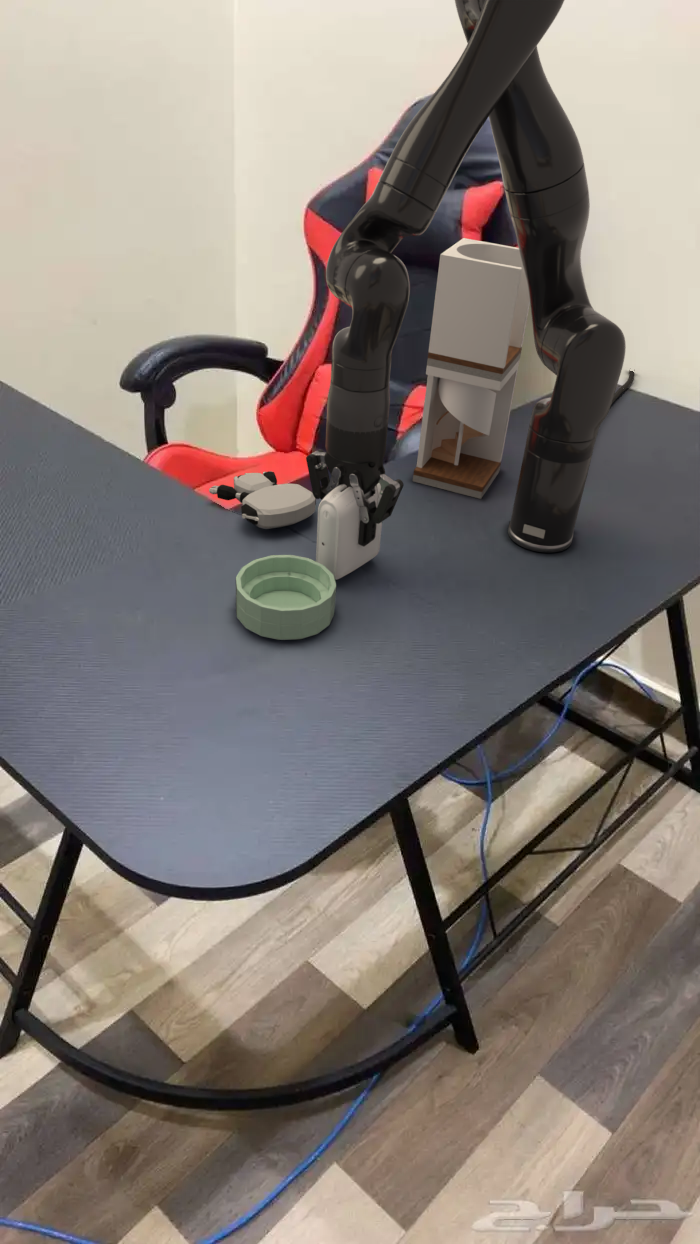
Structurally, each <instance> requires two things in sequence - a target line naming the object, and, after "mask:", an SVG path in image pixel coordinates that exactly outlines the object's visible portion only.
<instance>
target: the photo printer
mask: <svg viewBox="0 0 700 1244" xmlns="http://www.w3.org/2000/svg"><path fill="white" fill-rule="evenodd" d="M377 489H378V494H379V497H378V499H377V502H378V504H379V501H380V499H381V496H382V495H381V494H380V491H381V485H380V483H378V484H377ZM369 493H370V491H369V492H368V493H366V494H365V495H364V497H366V496H367V495H369ZM359 508H360V507H359V506H357V503H356V500H355V497H354V493H353V488H352V487H348V488H347V486H346V485H345V484H341V485H339V486H337V487H336V488H334V489H333V490H332V491H331V492H330V493H328V494H327V495H326V496H325V497H324V498H323V500H321V501H320V503H319V504H318V507H317V526H316V527H317V528H316V550H315V551H316V552H315V561H316V562H318V563H320V564H322V565H324V566H325V567H326V568H327V569H328V570H329V571H330V572H331V573H332V574H333V575H334V579H335V581H336V580H339V579H342V578H343V577H345V576H347V575H349V574H350V573H352V572H354V571H356V570H358V569H359V568H360V567H362V566H363V565H365V564H366V563H368V562H369V561H371V560H373V559H374V558H376V556H377V555H378V554H379V553H380V548H381V539H382V528H383V521H382V522H381V523H379V524H376V535H375V539H374V540H373V541H371V542H370V543H369V544H367V545H366V546H364V547H363V546H361V545H359V529H360V521H361V515H360V510H359Z"/></svg>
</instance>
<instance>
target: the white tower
mask: <svg viewBox="0 0 700 1244" xmlns="http://www.w3.org/2000/svg"><path fill="white" fill-rule="evenodd" d="M530 307H531V306H530V297H529V290H528V284H527V279H526V275H525V271H524V267H523V264H522V260H521V256H520V252H519V247H515V246H510V245H505V244H501V243H500V244H499V243H494V242H489V241H482V240H477V239H473V238H472V239H471V238H466V237H463V238H461V239H460V240H458V241H457V242H456V243H455V244H453V245H452V246H450V247H449V248H447V249H445V250H444V251H443V252H441V253H440V255H439V262H438V272H437V279H436V288H435V296H434V304H433V311H432V319H431V328H430V335H429V336H430V337H429V344H428V352H427V360H426V361H427V362H426V369H425V370H426V371H425V375H426V376H427V379H426V387H425V393H424V394H425V395H424V401H423V403H424V404H423V409H422V420H421V426H420V435H419V442H418V443H419V444H418V451H417V459H416V467H415V468H414V469H413V474H412V482H414V483H417V484H422V485H425V486H429V487H433V488H437V489H441V490H445V491H448V492H453V493H456V494H461V495H463V496H467V497H472V498H474V499H475V498H476V499H480V500H482V498H483V497H484V496H485V494H486V492H487V491H488V490H489V488H490V487H491V485H492V483H493V482H494V480H495V479H496V477H497V476H498V475H499V473H500V471H501V465H502V459H503V455H504V454H503V453H504V448H505V442H506V438H507V432H508V427H509V421H510V416H511V412H512V411H511V410H512V406H513V405H512V404H513V398H514V393H515V389H516V382H517V377H518V372H519V366H520V361H521V355H522V350H523V345H524V339H525V333H526V329H527V322H528V317H529V311H530Z"/></svg>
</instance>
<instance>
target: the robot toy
mask: <svg viewBox="0 0 700 1244" xmlns="http://www.w3.org/2000/svg"><path fill="white" fill-rule="evenodd" d="M208 492H209V493H210V494H211V495H216V497H217V499H219V500H225V501H231V500H235V499H236V500H237V501H238V502H239V503H240V504H242V505H241V507H240V508H241V509H240V511H241V518H242V519H244V520H246V521H247V522H249V523H250V524H252V525H254V526H256V527H257V528H260V529H263V530H269V529H270V530H271V529H276V528H277V529H278V528H282V527H288V526H292V525H295V524H297V523H299V522H302V521H305V520H306V519H307V518H309V517H311V516H312V515H313V514H314V513H315V512H316V504H317V499H316V498H315V497H314V496H313V491H311V490H309V488H306V487H304V486H302V485H300V484H299V483H298V484H297V483H280V484H278V479H277V476H276V473H275V472H274V471H272V470H270V471H263V472H262V473H261V472H244V474H240V475H235V476H234V477H233V486H231V485H226V484H220V485H213V486H211V487H210V488H209V489H208Z"/></svg>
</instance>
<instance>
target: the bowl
mask: <svg viewBox="0 0 700 1244" xmlns="http://www.w3.org/2000/svg"><path fill="white" fill-rule="evenodd" d="M336 596H337V582H336V580H335V579H334V575H333V574H332V573H331V572H330V571H329V570H328V569H327V568H326V567H325V566H324V565H322V564H320V563H318V562H316V560H313V559H311V558H310V557H304V556H300V555H294V554H271V555H267V556H264V557H259V558H256V559H253V560H251V561H250V562H248V563H247V564H245V565H244V566H241V568H240V570H239V572H238V573H237V575H236V577H235V613H236V619H237V620H239V622H240V623H241V624H242V626H243V627H244V628H245V629H246V630H249V631H250V632H253V633H254V634H256V635H259V636H260V637H264V638H269V639H272V640H273V639H274V640H278V641H280V640H281V641H285V640H302V639H305V638H309V637H312V636H315V635H318V634H320V632H322V631H323V630H325V629H326V628H327V627H329V626H330V624H331V623H332V620H333V618H334V616H335V610H336V609H335V608H336Z"/></svg>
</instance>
